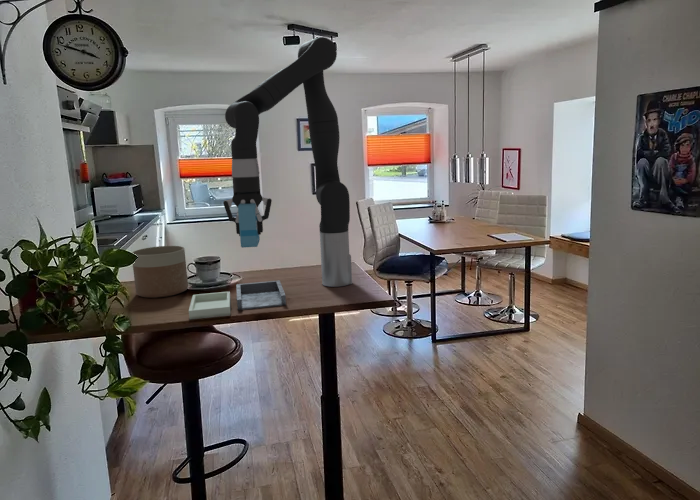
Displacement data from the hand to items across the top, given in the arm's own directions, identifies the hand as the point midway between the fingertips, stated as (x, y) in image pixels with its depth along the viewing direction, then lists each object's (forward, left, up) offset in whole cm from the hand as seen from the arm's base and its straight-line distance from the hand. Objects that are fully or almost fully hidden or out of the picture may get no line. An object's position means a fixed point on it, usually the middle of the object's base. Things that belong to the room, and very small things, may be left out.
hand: (249, 234), depth 151 cm
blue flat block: (0, 0, -3) cm, 3 cm away
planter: (+28, -21, -20) cm, 40 cm away
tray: (+12, +4, -20) cm, 24 cm away
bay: (-2, -1, -20) cm, 20 cm away
